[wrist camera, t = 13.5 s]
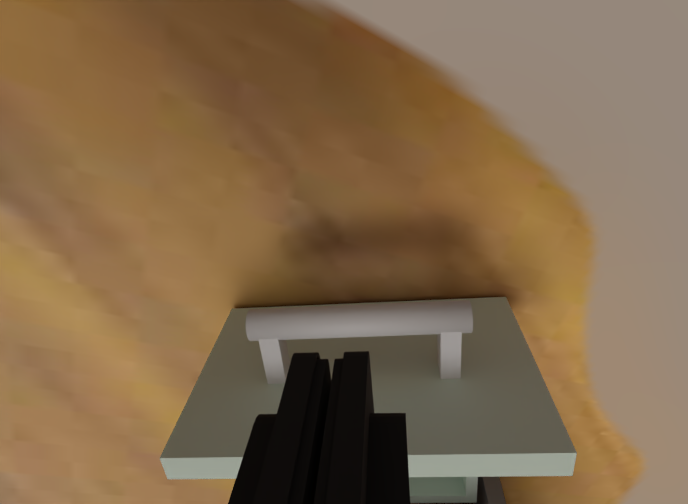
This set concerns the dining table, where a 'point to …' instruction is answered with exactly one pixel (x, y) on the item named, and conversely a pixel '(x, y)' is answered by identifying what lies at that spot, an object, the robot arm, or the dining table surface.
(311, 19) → the dining table surface
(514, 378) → the drawer
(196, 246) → the dining table surface
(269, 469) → the robot arm
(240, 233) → the dining table surface
